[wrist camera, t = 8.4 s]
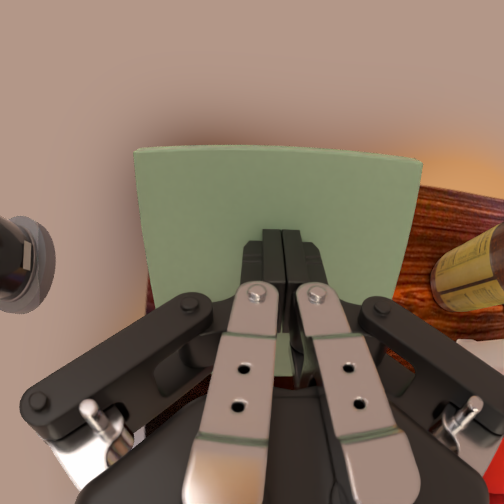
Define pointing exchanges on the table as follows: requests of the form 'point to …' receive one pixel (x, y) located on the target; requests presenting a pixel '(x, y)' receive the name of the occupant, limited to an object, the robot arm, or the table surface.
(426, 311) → the table surface
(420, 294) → the table surface
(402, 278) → the table surface
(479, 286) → the sauce bottle
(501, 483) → the tomato
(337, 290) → the sage green square panel
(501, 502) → the apple
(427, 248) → the table surface
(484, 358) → the perfume bottle
